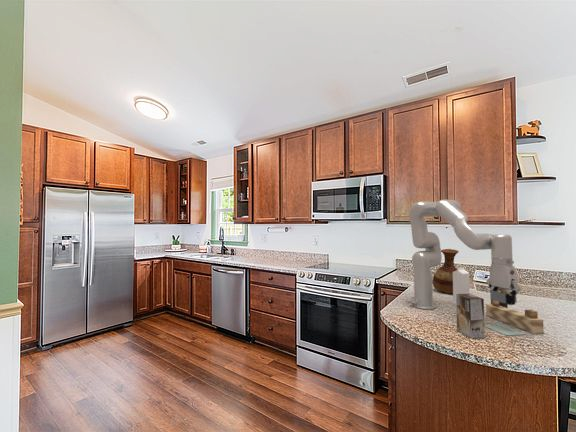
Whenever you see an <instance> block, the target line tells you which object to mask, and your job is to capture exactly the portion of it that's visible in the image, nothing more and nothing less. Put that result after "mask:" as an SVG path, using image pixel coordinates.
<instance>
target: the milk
mask: <svg viewBox="0 0 576 432" xmlns="http://www.w3.org/2000/svg"><path fill="white" fill-rule="evenodd" d="M456 268H457V270H456V271H454V272H453V294H452V296H453V297H452V300H453V301H452V302H453V303H452V304H453V305H455V306H456V294H470V273H469V271H468V270H465V266H461V267H460V266H458V267H456Z"/></svg>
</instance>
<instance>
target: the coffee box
mask: <svg viewBox="0 0 576 432" xmlns="http://www.w3.org/2000/svg"><path fill="white" fill-rule="evenodd" d="M484 299H485V298H482V297H479V296H476V295H472V294H456V305H455V306H456V331H457V332H459V333H462V334H463V335H465V336H466V337H469V338H471V339H485V330H486V329H485V326H484V325H485V302H484V301H485V300H484Z"/></svg>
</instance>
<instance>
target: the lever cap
mask: <svg viewBox="0 0 576 432" xmlns="http://www.w3.org/2000/svg"><path fill="white" fill-rule="evenodd" d="M489 293H490V300H491V299H492V300H495V301H498V302H502V303H507V295H508V293H507V290H490V291H489ZM515 304H517V295H516V296H515Z"/></svg>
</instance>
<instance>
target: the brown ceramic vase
mask: <svg viewBox="0 0 576 432" xmlns="http://www.w3.org/2000/svg"><path fill="white" fill-rule="evenodd" d="M458 253H459V250H457V249H451V248H446V249H441V254H443V255H444V262H443V264H442V266H440V267H438V269H436V271H435V272H434V274H433V276H432V283H433V289H435V290H437V291H440V292H442V293H446V294H452V295H453V272H454V271H456V270H457V268H458V267H456V266H455V257H456V255H457V254H458Z"/></svg>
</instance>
